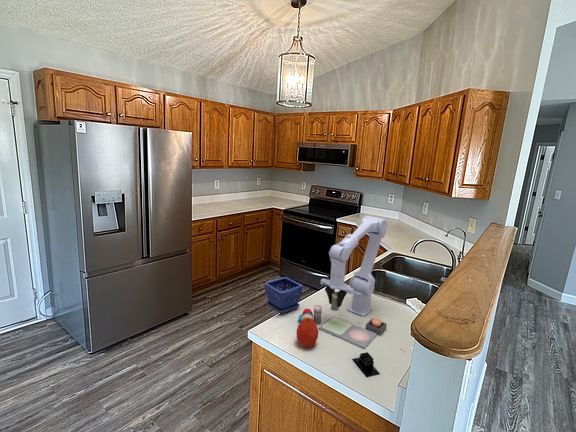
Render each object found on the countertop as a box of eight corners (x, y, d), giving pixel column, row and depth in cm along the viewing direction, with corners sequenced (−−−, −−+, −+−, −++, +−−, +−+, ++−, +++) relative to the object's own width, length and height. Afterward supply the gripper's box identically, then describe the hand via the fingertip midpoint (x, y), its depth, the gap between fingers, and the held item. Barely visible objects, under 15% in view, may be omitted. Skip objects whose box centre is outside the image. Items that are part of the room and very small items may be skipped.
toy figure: (317, 339, 122) (315, 314, 136) (317, 329, 120) (315, 305, 134) (298, 339, 122) (298, 314, 136) (297, 329, 120) (297, 305, 134)
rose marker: (315, 318, 133) (316, 303, 132) (322, 321, 131) (323, 306, 130) (311, 322, 131) (312, 307, 129) (318, 325, 129) (319, 309, 127)
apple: (312, 336, 121) (314, 311, 119) (321, 348, 113) (323, 322, 111) (293, 339, 118) (294, 313, 116) (300, 352, 111) (301, 325, 109)
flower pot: (262, 306, 143) (263, 282, 140) (284, 298, 151) (285, 275, 148) (280, 318, 133) (281, 293, 130) (302, 309, 141) (304, 285, 139)
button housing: (371, 323, 132) (372, 318, 131) (386, 329, 128) (386, 323, 127) (365, 329, 127) (365, 324, 126) (380, 335, 123) (380, 330, 122)
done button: (373, 321, 129) (374, 317, 129) (382, 324, 127) (382, 320, 127) (370, 325, 126) (370, 320, 126) (378, 328, 124) (379, 324, 124)
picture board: (333, 317, 135) (333, 315, 135) (377, 335, 123) (377, 333, 123) (318, 328, 126) (318, 327, 126) (364, 349, 114) (364, 347, 114)
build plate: (347, 358, 109) (348, 346, 109) (365, 354, 112) (366, 343, 111) (366, 382, 98) (368, 370, 97) (386, 378, 100) (387, 366, 99)
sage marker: (333, 306, 131) (334, 290, 129) (340, 308, 129) (341, 293, 127) (328, 309, 128) (330, 293, 127) (336, 312, 126) (337, 296, 125)
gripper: (317, 271, 127) (315, 302, 129) (349, 282, 118) (346, 314, 120) (326, 267, 132) (324, 296, 135) (357, 276, 123) (354, 308, 126)
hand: (335, 304), depth 128 cm, fingers closed on sage marker, 3 cm apart
